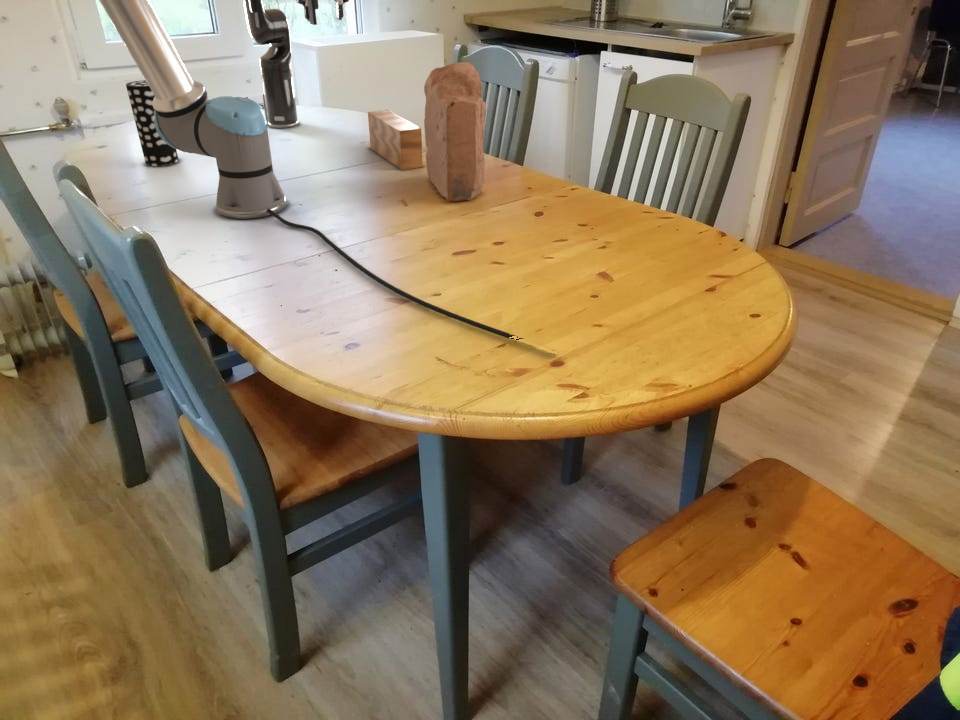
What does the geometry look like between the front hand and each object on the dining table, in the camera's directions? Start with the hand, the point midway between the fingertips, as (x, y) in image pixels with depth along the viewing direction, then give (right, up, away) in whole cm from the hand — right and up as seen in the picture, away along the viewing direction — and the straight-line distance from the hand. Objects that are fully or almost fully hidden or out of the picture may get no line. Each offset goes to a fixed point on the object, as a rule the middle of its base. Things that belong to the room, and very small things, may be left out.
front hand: (287, 26), depth 170 cm
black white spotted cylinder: (-38, -20, +11) cm, 45 cm away
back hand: (+4, +12, +22) cm, 25 cm away
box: (+24, -26, +23) cm, 42 cm away
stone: (+42, -40, +2) cm, 57 cm away
